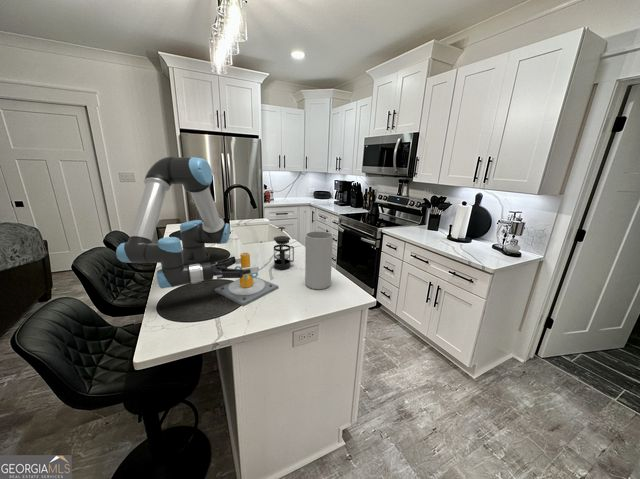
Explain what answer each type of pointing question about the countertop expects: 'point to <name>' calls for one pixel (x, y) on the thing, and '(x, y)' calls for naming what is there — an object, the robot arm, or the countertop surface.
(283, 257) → the french press
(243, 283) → the orange ringed tube
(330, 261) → the cylinder vase
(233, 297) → the grey plate with disc
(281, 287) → the countertop surface
